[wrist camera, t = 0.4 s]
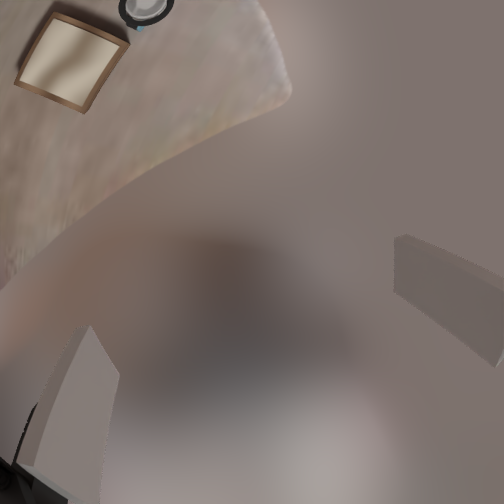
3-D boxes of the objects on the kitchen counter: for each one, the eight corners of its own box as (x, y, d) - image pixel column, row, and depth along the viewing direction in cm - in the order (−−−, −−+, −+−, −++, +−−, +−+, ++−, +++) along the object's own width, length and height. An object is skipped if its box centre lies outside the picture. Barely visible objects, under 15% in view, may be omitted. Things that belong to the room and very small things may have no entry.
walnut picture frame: (22, 81, 19) (12, 84, 16) (60, 14, 15) (53, 11, 13) (88, 109, 26) (83, 114, 24) (130, 44, 23) (128, 43, 21)
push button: (148, -15, 18) (151, -39, 11) (182, 1, 21) (196, -17, 14) (116, 24, 20) (106, 13, 13) (150, 39, 23) (151, 33, 17)
